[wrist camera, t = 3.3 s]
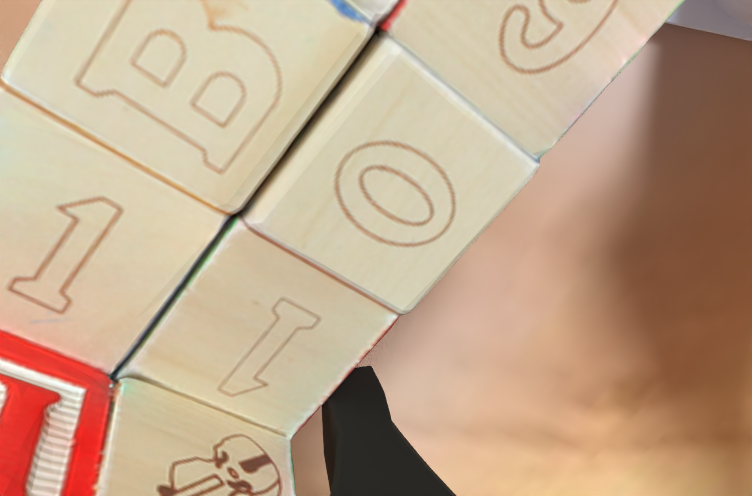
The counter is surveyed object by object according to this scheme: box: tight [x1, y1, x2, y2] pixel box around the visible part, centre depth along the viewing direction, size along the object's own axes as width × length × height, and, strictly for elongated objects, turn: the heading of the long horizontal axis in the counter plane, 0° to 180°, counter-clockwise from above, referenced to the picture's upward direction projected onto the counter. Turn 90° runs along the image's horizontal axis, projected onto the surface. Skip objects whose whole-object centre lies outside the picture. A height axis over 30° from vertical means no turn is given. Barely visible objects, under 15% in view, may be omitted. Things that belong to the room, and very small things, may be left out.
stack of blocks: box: [0, 0, 685, 496], centre depth 12 cm, size 21×6×12 cm, turn 140°
